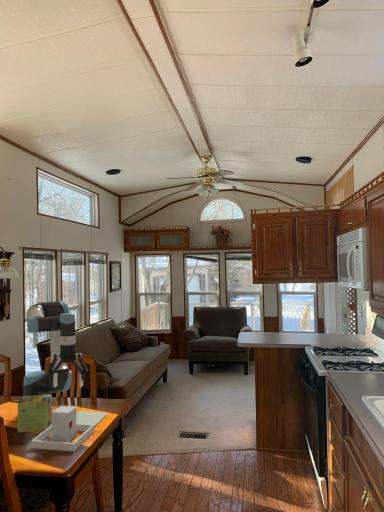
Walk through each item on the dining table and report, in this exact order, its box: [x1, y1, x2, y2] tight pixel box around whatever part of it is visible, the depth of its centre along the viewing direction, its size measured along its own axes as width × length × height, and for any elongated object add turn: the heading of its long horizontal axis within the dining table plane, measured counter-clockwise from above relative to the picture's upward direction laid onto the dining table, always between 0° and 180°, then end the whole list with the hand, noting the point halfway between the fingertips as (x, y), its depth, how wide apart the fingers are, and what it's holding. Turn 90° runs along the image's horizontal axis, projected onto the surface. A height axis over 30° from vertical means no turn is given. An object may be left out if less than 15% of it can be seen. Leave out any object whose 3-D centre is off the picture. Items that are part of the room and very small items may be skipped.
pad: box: [76, 410, 109, 428], centre depth 215 cm, size 18×18×1 cm
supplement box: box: [51, 405, 77, 443], centre depth 192 cm, size 9×9×15 cm
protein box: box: [17, 393, 53, 433], centre depth 207 cm, size 10×15×16 cm
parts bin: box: [30, 423, 96, 453], centre depth 192 cm, size 22×22×4 cm
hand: (68, 386), depth 194 cm, fingers open, 13 cm apart
